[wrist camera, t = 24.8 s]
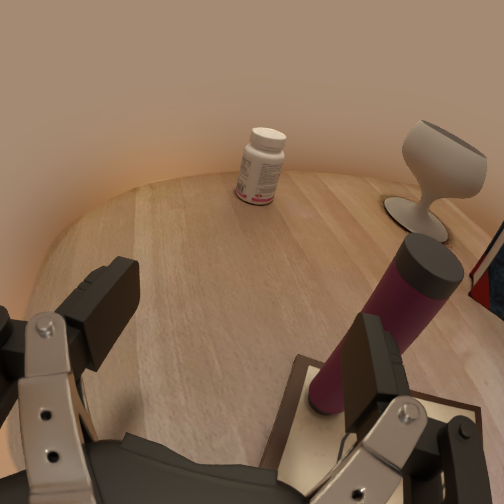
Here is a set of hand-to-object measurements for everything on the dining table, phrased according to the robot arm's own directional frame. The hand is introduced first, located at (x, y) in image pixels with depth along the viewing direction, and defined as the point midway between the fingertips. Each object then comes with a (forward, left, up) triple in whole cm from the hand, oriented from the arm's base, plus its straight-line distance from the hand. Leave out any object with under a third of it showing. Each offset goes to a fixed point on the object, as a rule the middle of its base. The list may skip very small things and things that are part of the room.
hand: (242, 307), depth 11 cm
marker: (+3, -6, -10) cm, 12 cm away
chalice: (+39, -18, -10) cm, 44 cm away
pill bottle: (+27, +6, -10) cm, 30 cm away
